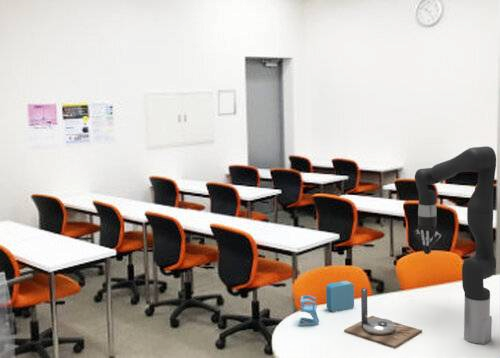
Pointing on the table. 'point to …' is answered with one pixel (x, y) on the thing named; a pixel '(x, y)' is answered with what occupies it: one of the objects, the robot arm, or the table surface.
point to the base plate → (388, 340)
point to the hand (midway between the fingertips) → (427, 253)
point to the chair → (309, 311)
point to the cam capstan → (375, 320)
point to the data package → (340, 296)
